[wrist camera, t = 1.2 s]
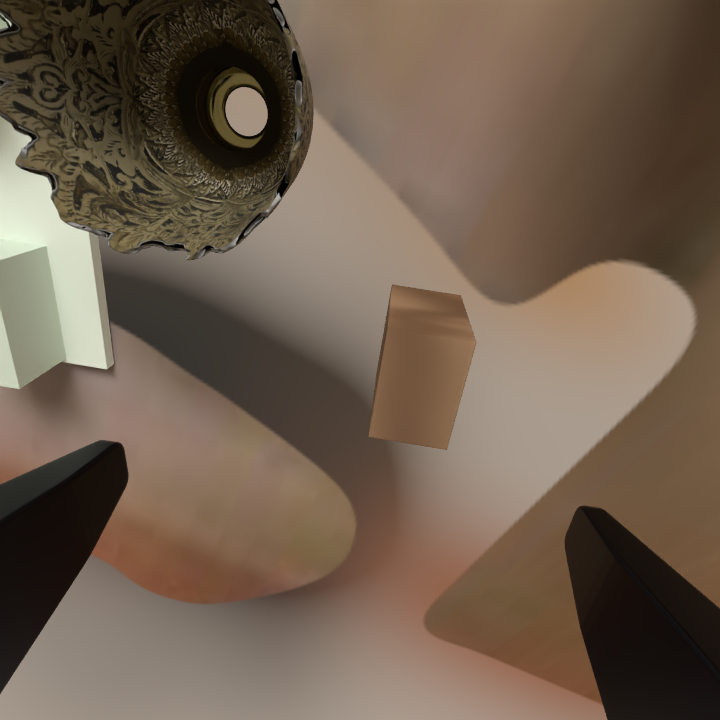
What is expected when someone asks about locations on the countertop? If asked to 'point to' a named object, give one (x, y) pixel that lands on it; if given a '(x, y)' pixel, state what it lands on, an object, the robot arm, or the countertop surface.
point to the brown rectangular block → (421, 367)
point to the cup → (155, 115)
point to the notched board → (65, 250)
